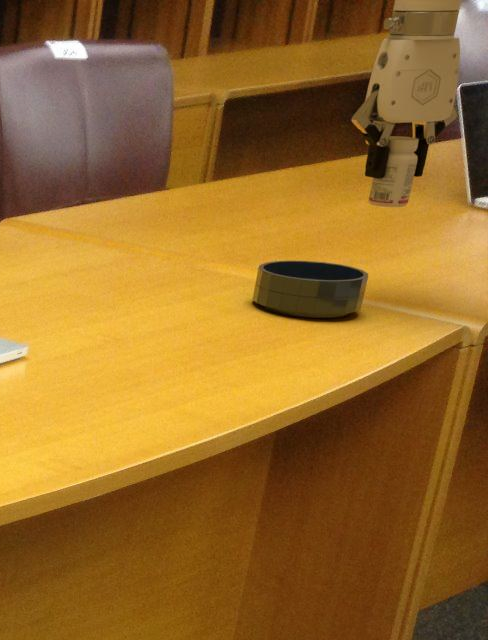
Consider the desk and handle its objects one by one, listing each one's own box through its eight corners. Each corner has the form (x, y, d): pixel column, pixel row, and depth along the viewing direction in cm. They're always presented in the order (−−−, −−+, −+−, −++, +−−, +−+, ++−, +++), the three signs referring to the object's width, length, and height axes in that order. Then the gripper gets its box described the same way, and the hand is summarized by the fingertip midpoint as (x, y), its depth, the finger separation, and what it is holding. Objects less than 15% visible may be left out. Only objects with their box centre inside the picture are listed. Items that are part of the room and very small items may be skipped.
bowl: (381, 317, 197) (390, 278, 195) (289, 322, 195) (297, 283, 193) (319, 295, 209) (327, 258, 207) (231, 300, 207) (238, 262, 205)
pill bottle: (397, 201, 205) (412, 135, 201) (413, 208, 201) (429, 140, 197) (361, 201, 205) (376, 135, 201) (376, 207, 201) (392, 140, 197)
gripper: (381, 29, 189) (353, 183, 196) (503, 25, 191) (470, 177, 199) (343, 27, 195) (317, 175, 203) (461, 23, 198) (431, 170, 206)
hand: (393, 174), depth 201 cm, fingers closed on pill bottle, 4 cm apart
